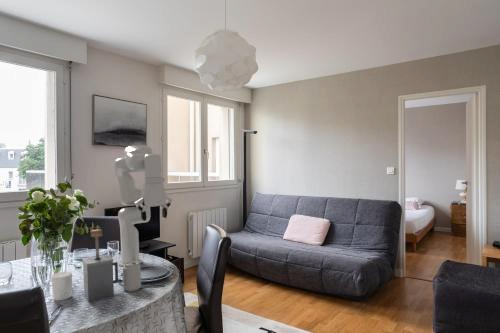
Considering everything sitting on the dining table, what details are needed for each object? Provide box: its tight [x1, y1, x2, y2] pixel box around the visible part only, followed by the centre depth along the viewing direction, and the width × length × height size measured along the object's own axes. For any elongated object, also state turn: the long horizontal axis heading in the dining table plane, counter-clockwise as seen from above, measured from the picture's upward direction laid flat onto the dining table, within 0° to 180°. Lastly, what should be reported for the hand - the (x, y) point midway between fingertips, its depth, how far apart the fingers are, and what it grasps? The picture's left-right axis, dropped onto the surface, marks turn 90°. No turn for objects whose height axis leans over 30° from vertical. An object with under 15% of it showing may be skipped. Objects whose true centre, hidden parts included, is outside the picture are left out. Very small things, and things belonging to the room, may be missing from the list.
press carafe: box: [81, 253, 119, 303], centre depth 145 cm, size 10×13×16 cm
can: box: [122, 261, 142, 292], centre depth 151 cm, size 8×8×12 cm
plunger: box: [90, 228, 103, 260], centre depth 144 cm, size 4×4×14 cm
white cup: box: [50, 270, 73, 302], centre depth 144 cm, size 8×8×10 cm
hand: (154, 218), depth 152 cm, fingers open, 9 cm apart
